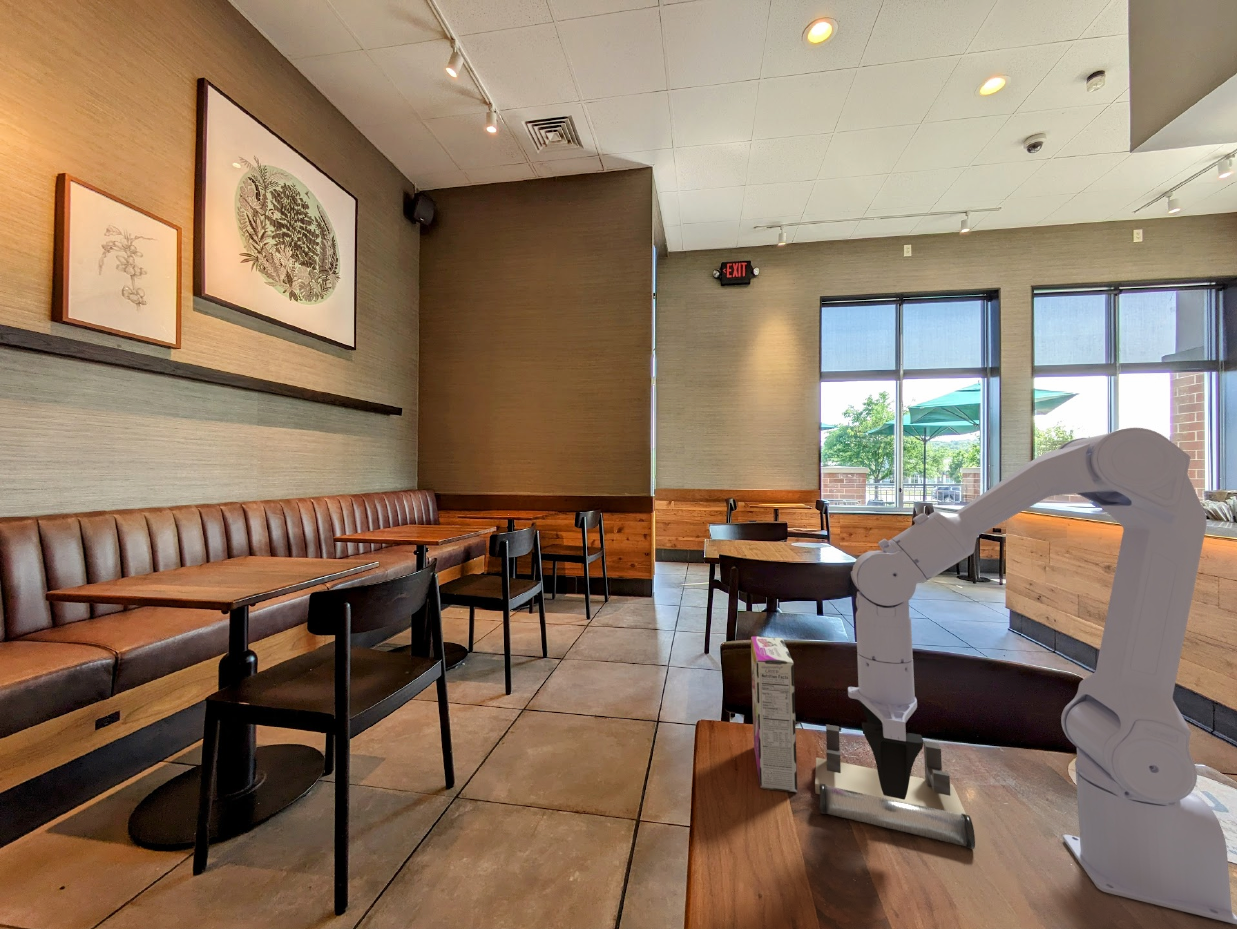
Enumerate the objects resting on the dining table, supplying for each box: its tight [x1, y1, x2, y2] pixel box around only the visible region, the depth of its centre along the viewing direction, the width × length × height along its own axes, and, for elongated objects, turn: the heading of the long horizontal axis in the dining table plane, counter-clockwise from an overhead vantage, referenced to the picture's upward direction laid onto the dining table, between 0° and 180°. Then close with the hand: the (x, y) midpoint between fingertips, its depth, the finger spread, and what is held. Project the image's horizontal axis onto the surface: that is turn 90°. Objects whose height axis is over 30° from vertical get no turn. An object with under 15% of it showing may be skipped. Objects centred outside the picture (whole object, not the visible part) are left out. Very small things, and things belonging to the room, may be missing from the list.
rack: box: [814, 724, 967, 815], centre depth 61 cm, size 16×7×6 cm, turn 67°
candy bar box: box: [750, 635, 799, 793], centre depth 67 cm, size 11×5×16 cm, turn 168°
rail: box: [819, 783, 976, 850], centre depth 55 cm, size 15×3×3 cm, turn 67°
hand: (889, 777), depth 56 cm, fingers open, 7 cm apart
